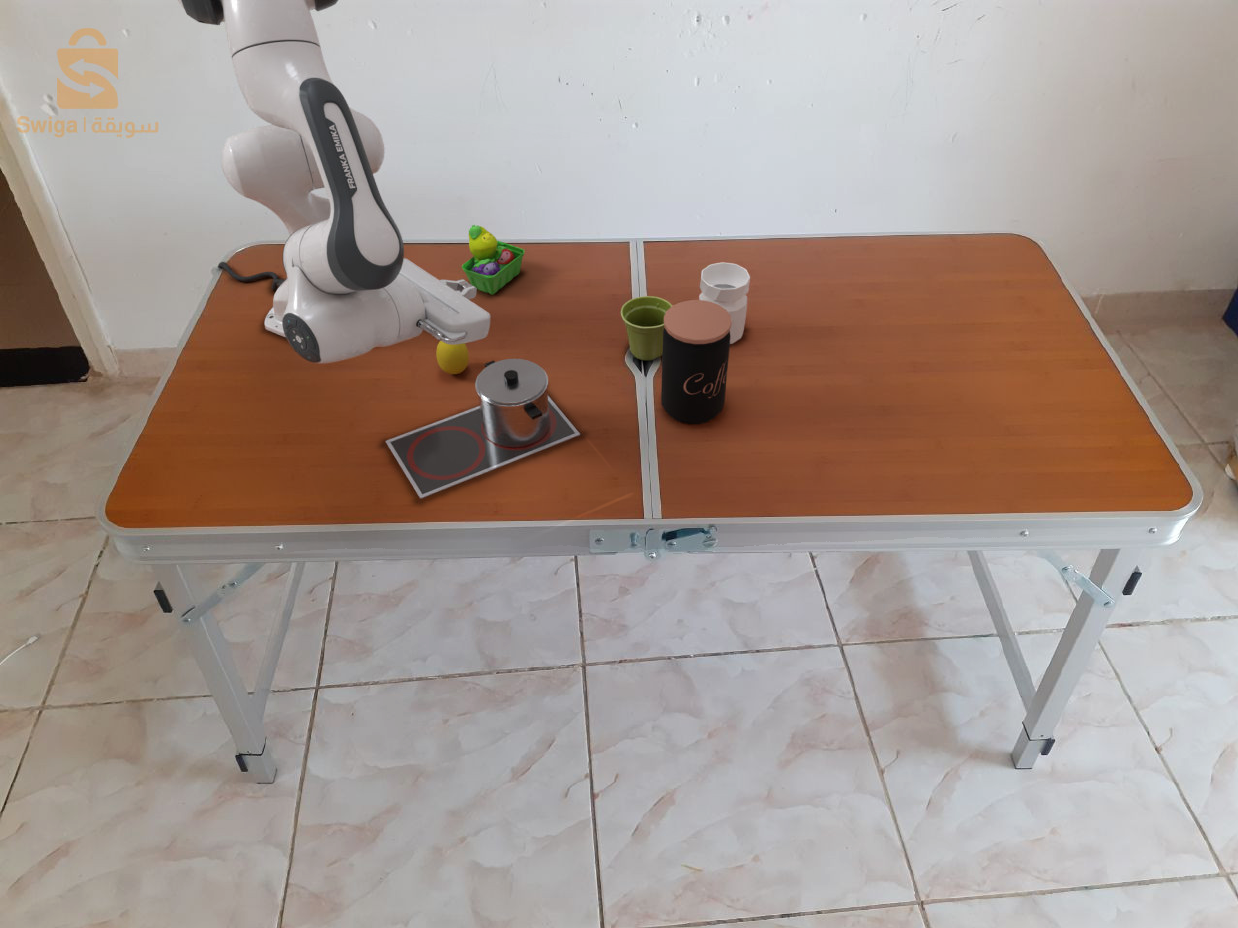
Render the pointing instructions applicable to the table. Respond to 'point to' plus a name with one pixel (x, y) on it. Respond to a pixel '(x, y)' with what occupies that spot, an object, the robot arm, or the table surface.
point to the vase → (727, 292)
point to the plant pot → (645, 325)
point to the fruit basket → (491, 261)
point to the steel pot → (513, 402)
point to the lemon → (452, 357)
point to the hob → (464, 449)
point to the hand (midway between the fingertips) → (470, 288)
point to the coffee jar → (695, 361)
